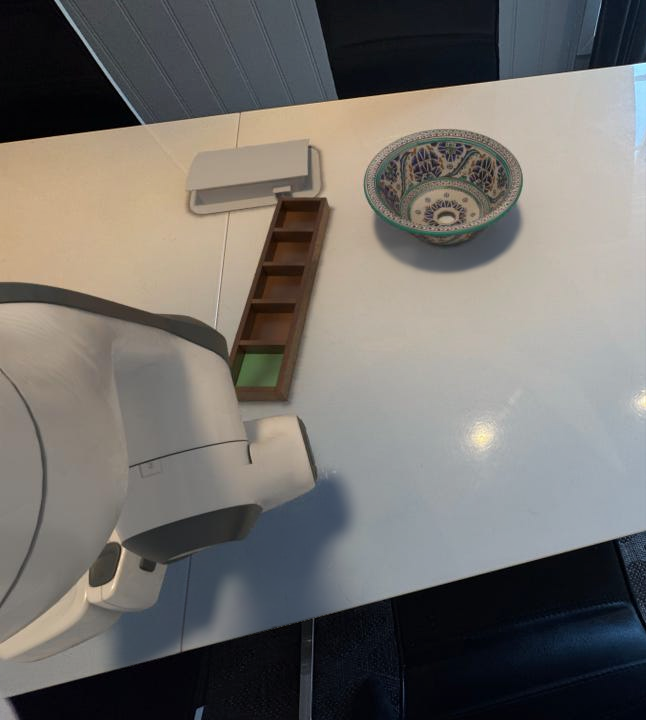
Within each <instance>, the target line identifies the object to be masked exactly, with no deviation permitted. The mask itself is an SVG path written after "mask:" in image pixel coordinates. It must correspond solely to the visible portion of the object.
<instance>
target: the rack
mask: <svg viewBox="0 0 646 720" xmlns="http://www.w3.org/2000/svg"><path fill="white" fill-rule="evenodd" d="M330 213H331V208H330V205H329V201H328V198H327V197H325V196H324V197H323V196H321V197H319V196H318V197H317V196H315V197H279V198H278V201H277V204H275V208H274V211H273V215H272V217H271V221H270V224H269V227H268V231H267V234H266V237H265V241H264V242H263V243H264V244H263V247H262V250H261V253H260V256H259V259H258V263H257V266H256V269H255V273H254V276H253V279H252V282H251V285H250V288H249V292H248V295H247V298H246V301H245V304H244V308H243V311H242V314H241V317H240V320H239V323H238V326H237V330H236V333H235V337H234V340H233V343H232V346H231V350H230V353H229V359H230V365H231V371H232V372H231V377H232V381H233V385H234V388H235V392H236V396H237V400H238V402H288V399H289V393H290V389H291V385H292V381H293V376H294V372H295V369H296V368H295V367H296V363H297V358H298V355H299V349H300V346H301V341H302V337H303V332H304V328H305V323H306V319H307V315H308V311H309V306H310V301H311V297H312V292H313V287H314V285H315V284H314V283H315V280H316V275H317V270H318V266H319V261H320V257H321V253H322V248H323V244H324V239H325V235H326V230H327V227H328V222H329V218H330V215H331V214H330Z"/></svg>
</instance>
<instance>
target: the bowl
mask: <svg viewBox="0 0 646 720" xmlns="http://www.w3.org/2000/svg"><path fill="white" fill-rule="evenodd" d="M523 187H524V176H523V171H522V167H521V164H520V163H519V161H518V159H517V157H516V156H515V154H513V153H512V152H511V151H510V150H509V149H508V148H507V147H506V146H504V145H503V144H502V143H500V142H499V141H497V140H495V139H493V138H491V137H489V136H487V135H484V134H482V133H478V132H475V131H471V130H465V129H457V128H437V129H428V130H427V129H426V130H422V131H418V132H417V131H416V132H414V133H410V134H408V135H405V136H403V137H401V138H398V139H396V140H394V141H392V142H391V143H389V144H388V145H386V146H385V147H383V148H382V149H381V150H380V151H379V152H378V153H376V155H375V156H374V157H373V158H372V159H371V161H370V163H369V164H368V165H367V168H366V170H365V173H364V177H363V192H364V196H365V199H366V201H367V203H368V205H369V207H370V209H372V211H373V212H374V213H375V214H377V216H378V217H379V218H380V219H382V220H383V221H384V222H386V223H387V224H389V225H391V226H393V227H395V228H397V229H399V230H401V231H404V232H406V233H407V234H409V235H410V236H412V237H414V238H416V239H418V240H421V241H422V242H427V243H431V244H437V245H446V246H448V245H454V244H458V243H462V242H465V241H468V240H470V239H473V238H475V237H477V236H478V235H480V234H482V233H483V232H485V230H486V229H488V227H489V226H491V225H493V224H494V223H497V222H498V221H499V220H502V218H504V217H505V216H506V215H507V214H509V213H510V211H511V210H512V209H513V208H514V206H515V205H516V204H517V202H518V200H519V199H520V197H521V193H522V190H523ZM442 213H451V214H453V215H454V220H453V221H450V222H441V220H439V219H438V217H439V216H440V214H442Z"/></svg>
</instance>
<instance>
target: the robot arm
mask: <svg viewBox="0 0 646 720" xmlns="http://www.w3.org/2000/svg"><path fill="white" fill-rule="evenodd" d="M229 356H230V353H229V348H228V342H227V339H226V337H225V336H224V335H223V334H222V333H221V332H220V331H218V330H217V329H215V328H214V327H212V326H211V325H209V324H207V323H205V322H204V321H202V320H200V319H197V318H195V317H193V316H190V315H185V314H174V313H173V314H172V313H157V312H156V313H155V312H151V311H147V310H144V309H140V308H136V307H133V306H131V305H126V304H123V303H119V302H117V301H113V300H109V299H106V298H103V297H99V296H97V295H92V294H89V293H85V292H81V291H77V290H74V289H73V290H72V289H69V288H65V287H64V288H63V287H59V286H53V285H47V284H40V283H33V282H23V281H0V660H1V661H4V662H7V663H16V664H23V663H24V664H25V663H36V662H40V661H43V660H46V659H48V658H51V657H53V656H56V655H58V654H61V653H64V652H65V651H66V652H67V651H68V650H70V649H73V648H75V647H78V646H79V645H81V644H84V643H86V642H88V641H89V640H92V639H94V638H96V637H98V636H100V635H101V634H103V633H104V632H106V631H108V630H109V629H110V628H111V627H113V626H114V625H115V624H116V623H117V622H118V621H119V620H120V618H121V617H122V616H123V614H124V613H134V612H135V613H136V612H142V611H146V610H148V609H150V608H152V607H153V606H154V605H155V604H156V603H157V601H158V599H159V597H160V592H161V589H162V585H163V583H164V579H165V575H166V572H167V568H168V565H171V564H175V563H177V562H180V561H182V560H184V559H186V558H189V557H191V556H193V555H194V554H195V555H196V553H199V552H200V551H202V550H206V549H209V548H211V547H215V546H217V545H222V544H226V543H233V542H238V541H239V542H240V541H242V540H246V539H247V537H248V535H250V532H251V531H252V529H253V528H254V527H255V524H256V523H257V522H258V520H259V518H260V516H261V514H263V513H265V512H268V511H271V510H273V509H275V508H277V507H279V506H282V505H284V504H287V503H288V502H290V501H293V500H295V499H297V498H299V497H301V496H303V495H304V494H307V493H308V492H310V491H312V490H314V489H315V487H316V485H317V480H318V477H319V476H318V475H319V474H318V467H317V465H316V460H315V457H314V453H313V450H312V445H311V442H310V439H309V435H308V432H307V427H306V425H305V422H303V419H302V418H300V417H299V416H298V415H297V414H295V413H285V414H278V415H271V416H267V417H261V418H255V419H251V420H245V421H244V420H243V416H242V413H241V408H240V404H239V401H238V400H237V396H236V392H235V388H234V385H233V381H232V377H231V372H232V371H231V365H230V359H229Z"/></svg>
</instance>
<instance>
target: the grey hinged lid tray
mask: <svg viewBox="0 0 646 720" xmlns="http://www.w3.org/2000/svg"><path fill="white" fill-rule="evenodd" d="M309 143H310V138H303V139H295V140H288V141H286V140H285V141H280V142H272V143H263V144H254V145H247V146H238V147H231V148H224V149H222V148H221V149H216V150H206V151H199V152H197V153H196V155H195V156H194V157H193V159H192V162H191V164H190V167H189V171H188V174H187V178H186V179H187V180H186V183H185V190H184V191H185V193H187V192H191V194H190V199H189V207H190V211H192V212H193V213H194V214H196V215H209V214H215V213H223V212H229V211H231V212H232V211H238V210H245V209H251V208H252V209H253V208H261V207H266V206H274V205H277V201H278V198H279V197H317V196H318V194H320V191H321V188H322V181H321V166H320V155H319V152H318V151H317V150H316V149H315V148H313V147H309Z"/></svg>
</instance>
